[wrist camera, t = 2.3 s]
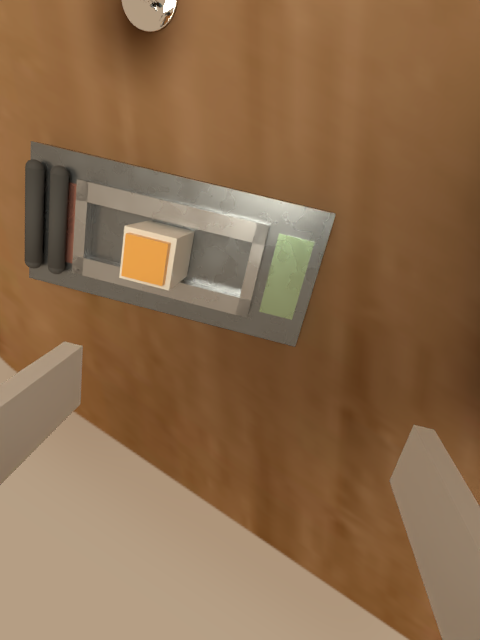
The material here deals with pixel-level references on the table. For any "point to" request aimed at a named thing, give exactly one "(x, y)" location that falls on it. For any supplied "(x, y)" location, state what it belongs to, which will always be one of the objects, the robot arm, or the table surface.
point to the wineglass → (149, 13)
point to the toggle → (155, 254)
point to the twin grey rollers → (35, 216)
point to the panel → (207, 249)
